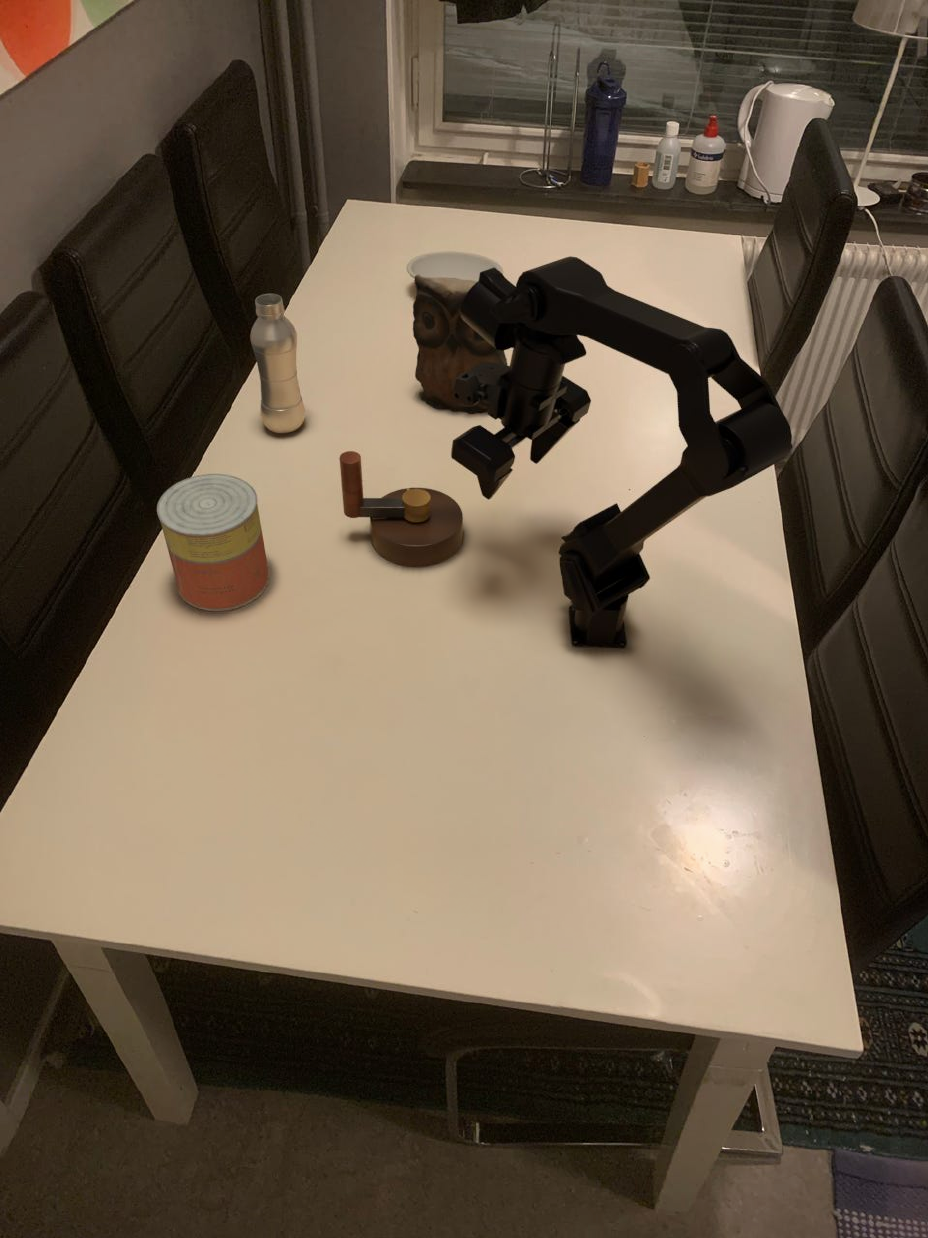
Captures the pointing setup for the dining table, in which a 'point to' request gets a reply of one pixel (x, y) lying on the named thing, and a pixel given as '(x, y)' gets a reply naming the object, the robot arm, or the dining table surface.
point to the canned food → (214, 541)
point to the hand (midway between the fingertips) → (510, 478)
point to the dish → (451, 265)
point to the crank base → (419, 532)
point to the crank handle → (409, 506)
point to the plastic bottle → (277, 365)
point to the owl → (446, 341)
